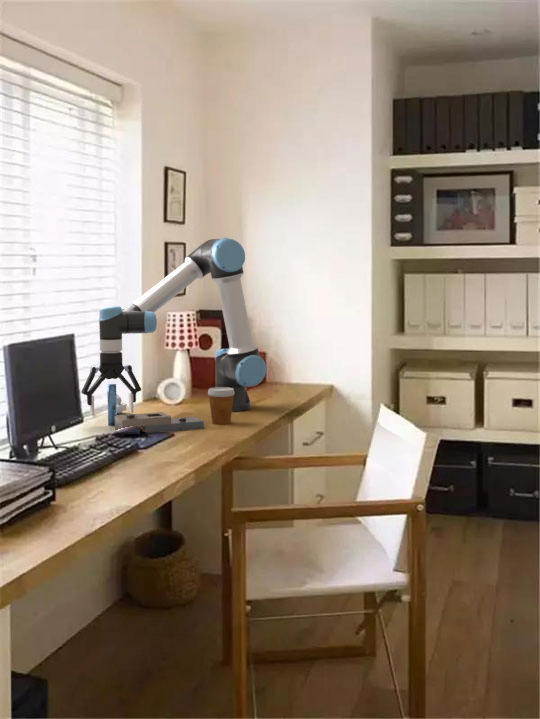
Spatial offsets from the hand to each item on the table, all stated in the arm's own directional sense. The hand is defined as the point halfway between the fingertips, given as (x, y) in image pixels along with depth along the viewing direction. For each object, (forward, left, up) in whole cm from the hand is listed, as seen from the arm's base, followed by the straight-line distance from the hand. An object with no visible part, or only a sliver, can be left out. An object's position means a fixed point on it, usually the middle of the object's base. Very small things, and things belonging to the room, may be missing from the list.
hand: (112, 413), depth 299 cm
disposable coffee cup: (-35, +13, -4) cm, 38 cm away
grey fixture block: (-12, +15, -4) cm, 20 cm away
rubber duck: (-8, -21, -4) cm, 23 cm away
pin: (0, 0, -4) cm, 4 cm away
